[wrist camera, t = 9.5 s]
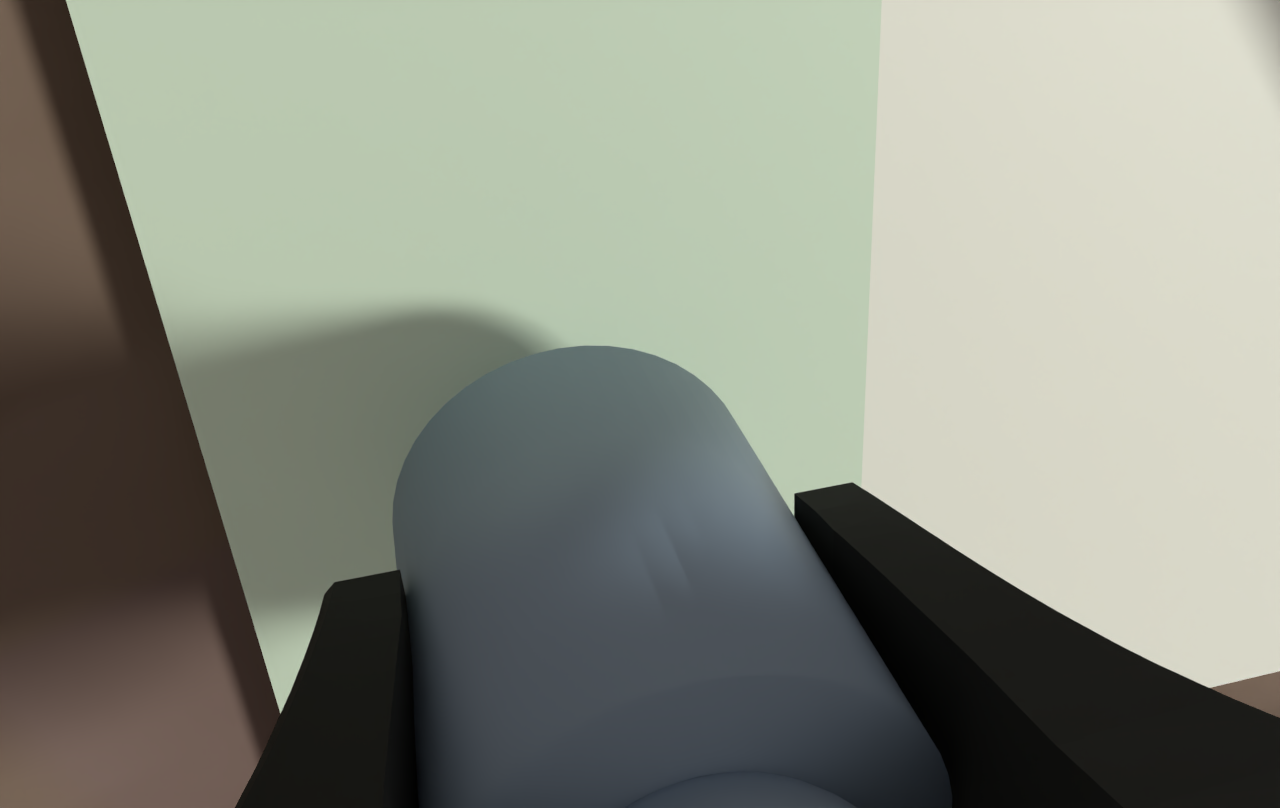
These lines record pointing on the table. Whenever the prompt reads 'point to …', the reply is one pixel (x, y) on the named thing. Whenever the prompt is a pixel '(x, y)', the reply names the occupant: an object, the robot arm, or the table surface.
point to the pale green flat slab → (738, 265)
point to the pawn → (631, 609)
